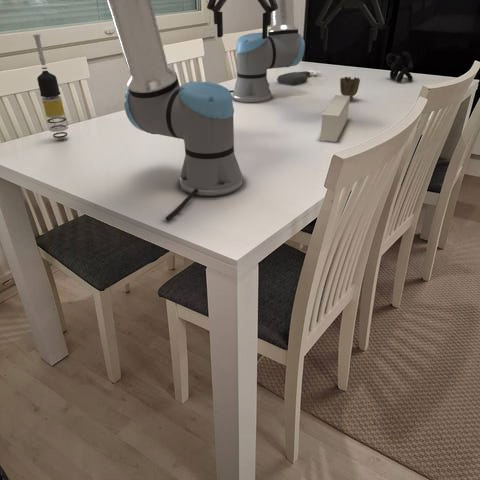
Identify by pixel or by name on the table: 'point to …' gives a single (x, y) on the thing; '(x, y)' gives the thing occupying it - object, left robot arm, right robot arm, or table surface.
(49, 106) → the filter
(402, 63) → the squiggle
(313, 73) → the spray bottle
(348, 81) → the cup
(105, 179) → the table surface
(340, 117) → the bar
